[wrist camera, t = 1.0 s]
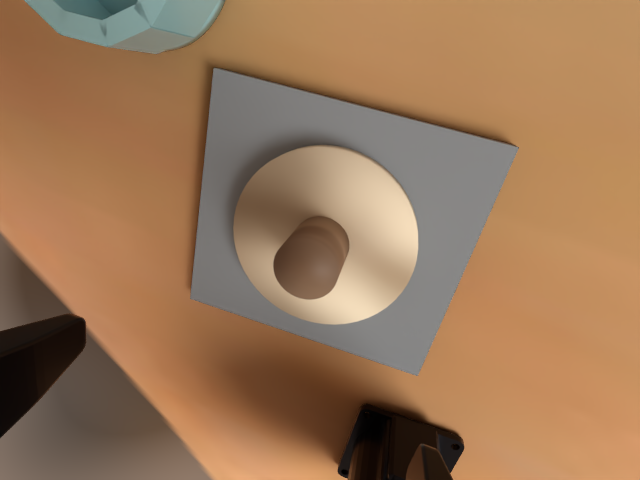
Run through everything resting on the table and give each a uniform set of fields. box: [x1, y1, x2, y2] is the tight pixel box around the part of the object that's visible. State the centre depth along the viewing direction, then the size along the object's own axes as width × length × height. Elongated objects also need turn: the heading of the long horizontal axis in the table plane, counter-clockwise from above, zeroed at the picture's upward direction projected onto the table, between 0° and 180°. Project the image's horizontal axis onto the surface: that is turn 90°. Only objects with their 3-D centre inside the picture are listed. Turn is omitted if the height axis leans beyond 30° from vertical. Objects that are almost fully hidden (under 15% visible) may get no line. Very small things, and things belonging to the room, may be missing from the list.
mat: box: [190, 68, 519, 376], centre depth 20 cm, size 13×14×1 cm
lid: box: [233, 145, 418, 325], centre depth 18 cm, size 9×9×4 cm
